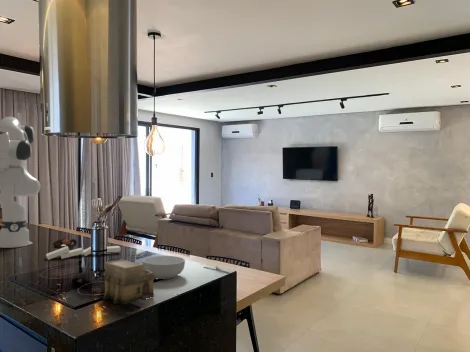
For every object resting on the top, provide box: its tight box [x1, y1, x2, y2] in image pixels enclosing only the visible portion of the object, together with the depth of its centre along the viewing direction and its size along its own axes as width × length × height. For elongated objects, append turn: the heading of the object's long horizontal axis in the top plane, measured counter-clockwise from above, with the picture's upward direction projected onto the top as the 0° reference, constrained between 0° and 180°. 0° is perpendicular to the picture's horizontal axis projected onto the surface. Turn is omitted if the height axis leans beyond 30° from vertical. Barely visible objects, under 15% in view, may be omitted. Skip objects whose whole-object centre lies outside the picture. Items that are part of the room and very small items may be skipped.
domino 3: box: [82, 246, 92, 257], centre depth 183 cm, size 2×5×10 cm
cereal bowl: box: [142, 255, 186, 280], centre depth 143 cm, size 17×17×7 cm
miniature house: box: [102, 258, 156, 305], centre depth 120 cm, size 15×14×11 cm
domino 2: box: [59, 247, 84, 260], centre depth 177 cm, size 2×5×10 cm
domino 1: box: [45, 245, 70, 261], centre depth 174 cm, size 2×5×10 cm
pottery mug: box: [52, 237, 78, 251], centre depth 191 cm, size 12×10×8 cm
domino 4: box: [106, 245, 122, 253], centre depth 186 cm, size 2×5×10 cm
